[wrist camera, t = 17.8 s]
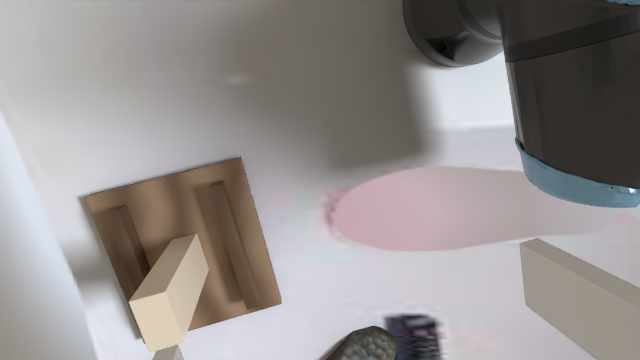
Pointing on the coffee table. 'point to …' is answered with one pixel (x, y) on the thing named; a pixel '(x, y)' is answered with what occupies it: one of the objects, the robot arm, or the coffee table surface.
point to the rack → (185, 219)
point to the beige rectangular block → (170, 293)
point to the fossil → (367, 345)
